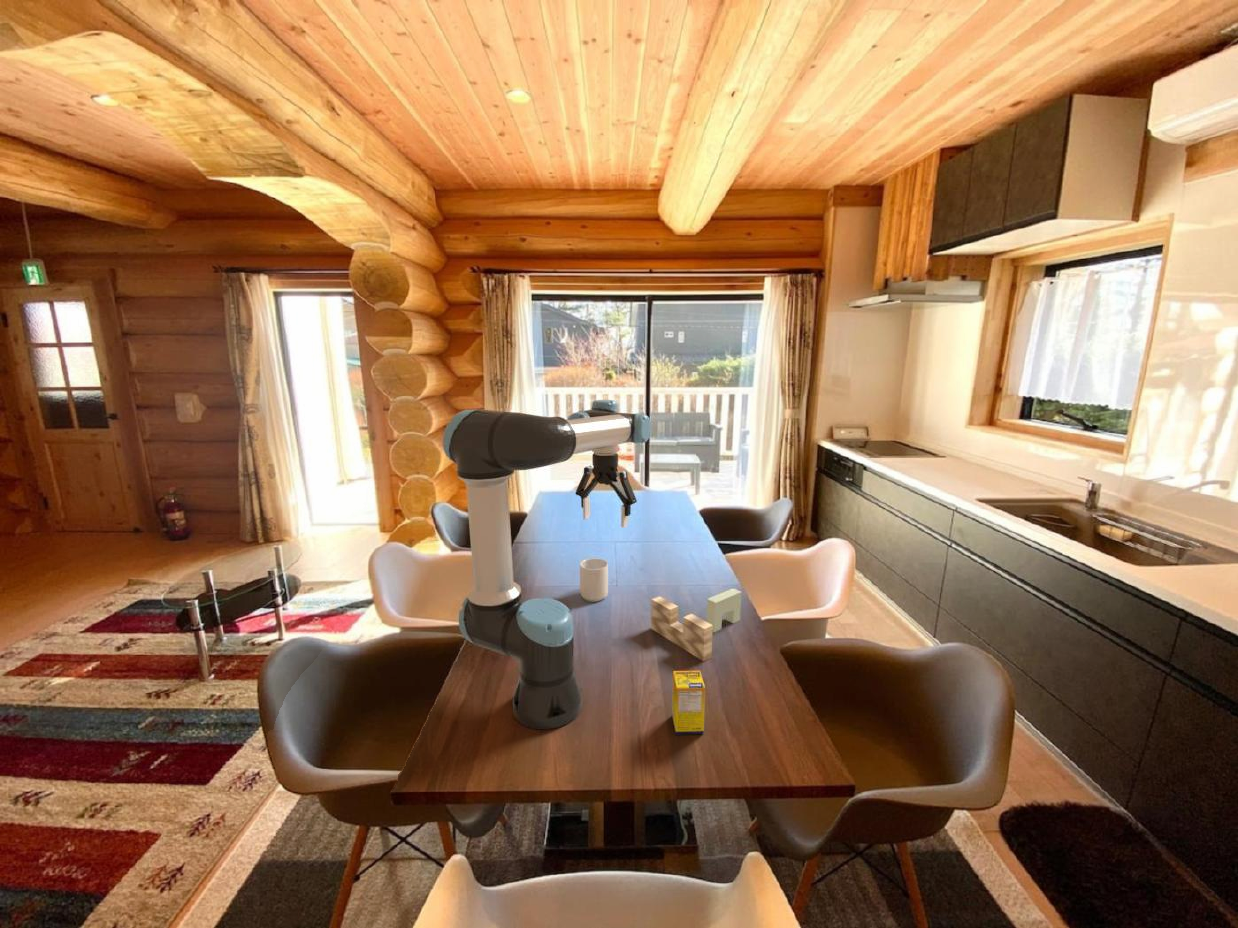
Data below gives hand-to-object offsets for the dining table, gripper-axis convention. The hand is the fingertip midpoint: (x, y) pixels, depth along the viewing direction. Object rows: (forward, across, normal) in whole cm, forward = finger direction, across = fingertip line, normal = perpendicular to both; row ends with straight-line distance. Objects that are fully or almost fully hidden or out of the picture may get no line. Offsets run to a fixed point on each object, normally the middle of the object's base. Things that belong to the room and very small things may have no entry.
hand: (605, 522), depth 156 cm
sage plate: (+26, -36, -6) cm, 45 cm away
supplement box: (+26, -44, +37) cm, 63 cm away
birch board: (+26, -30, +9) cm, 40 cm away
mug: (+26, +6, -3) cm, 27 cm away
